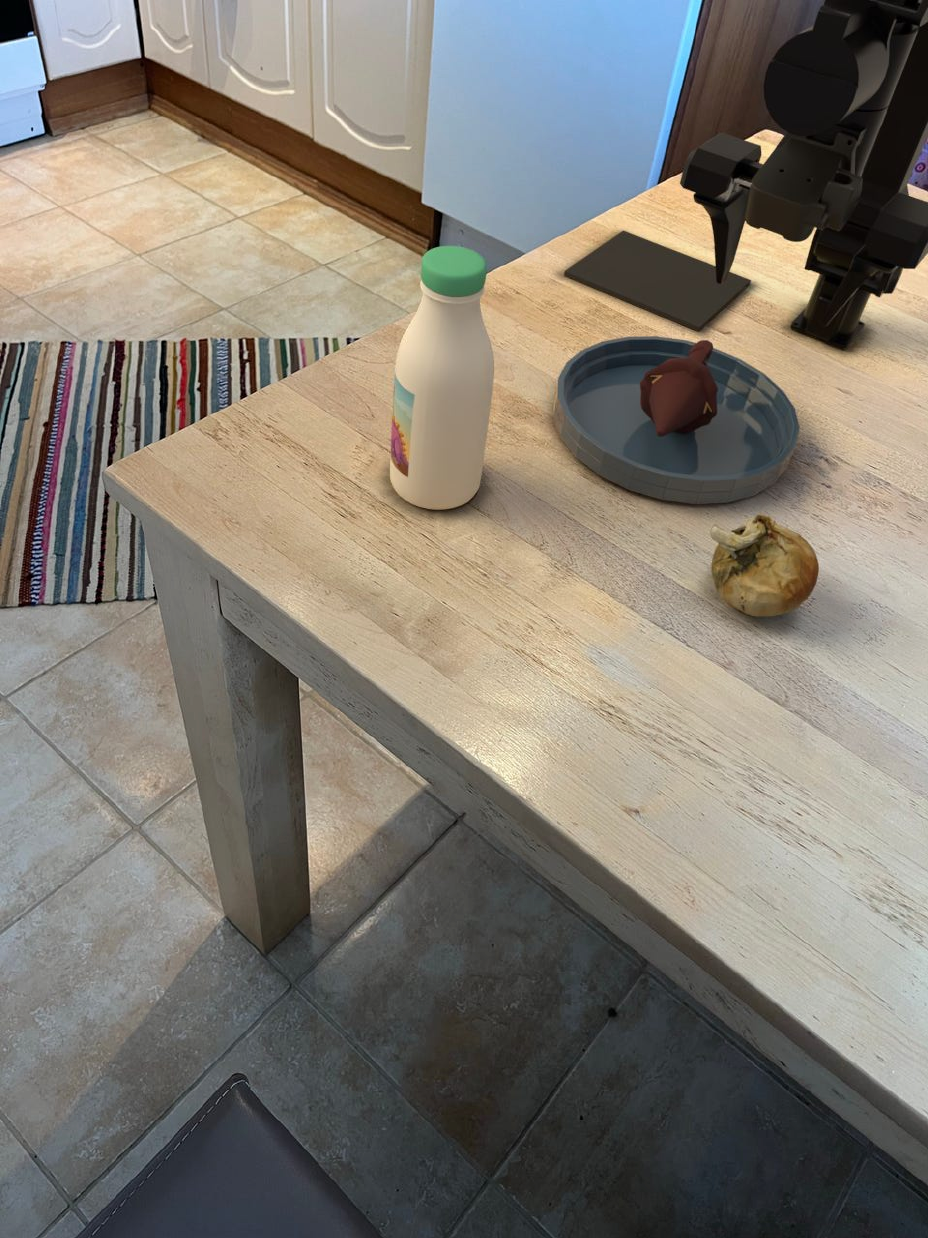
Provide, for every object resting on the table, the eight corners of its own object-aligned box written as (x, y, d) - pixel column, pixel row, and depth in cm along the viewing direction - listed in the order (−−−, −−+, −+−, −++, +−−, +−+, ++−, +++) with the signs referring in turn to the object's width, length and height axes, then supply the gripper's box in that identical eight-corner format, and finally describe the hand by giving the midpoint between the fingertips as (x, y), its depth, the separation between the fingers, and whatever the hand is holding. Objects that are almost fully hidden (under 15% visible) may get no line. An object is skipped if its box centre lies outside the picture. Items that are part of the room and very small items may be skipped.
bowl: (622, 337, 99) (628, 311, 97) (821, 424, 92) (833, 397, 90) (507, 434, 86) (511, 406, 84) (728, 543, 79) (739, 516, 76)
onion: (757, 651, 71) (795, 575, 65) (679, 587, 75) (707, 510, 69) (818, 609, 74) (858, 534, 68) (740, 550, 78) (772, 474, 72)
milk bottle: (491, 469, 82) (523, 248, 68) (462, 523, 77) (490, 297, 63) (408, 444, 84) (422, 223, 69) (375, 496, 79) (382, 269, 64)
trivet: (622, 234, 115) (623, 229, 115) (749, 284, 110) (751, 279, 109) (563, 275, 107) (564, 270, 107) (698, 332, 101) (700, 326, 101)
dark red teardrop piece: (720, 424, 78) (748, 352, 89) (642, 379, 78) (681, 312, 89) (677, 484, 83) (709, 409, 94) (604, 441, 83) (645, 371, 94)
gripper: (675, 84, 64) (625, 297, 75) (948, 172, 58) (848, 390, 69) (741, 48, 70) (685, 250, 82) (992, 124, 64) (894, 330, 76)
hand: (772, 302), depth 77 cm, fingers open, 9 cm apart
